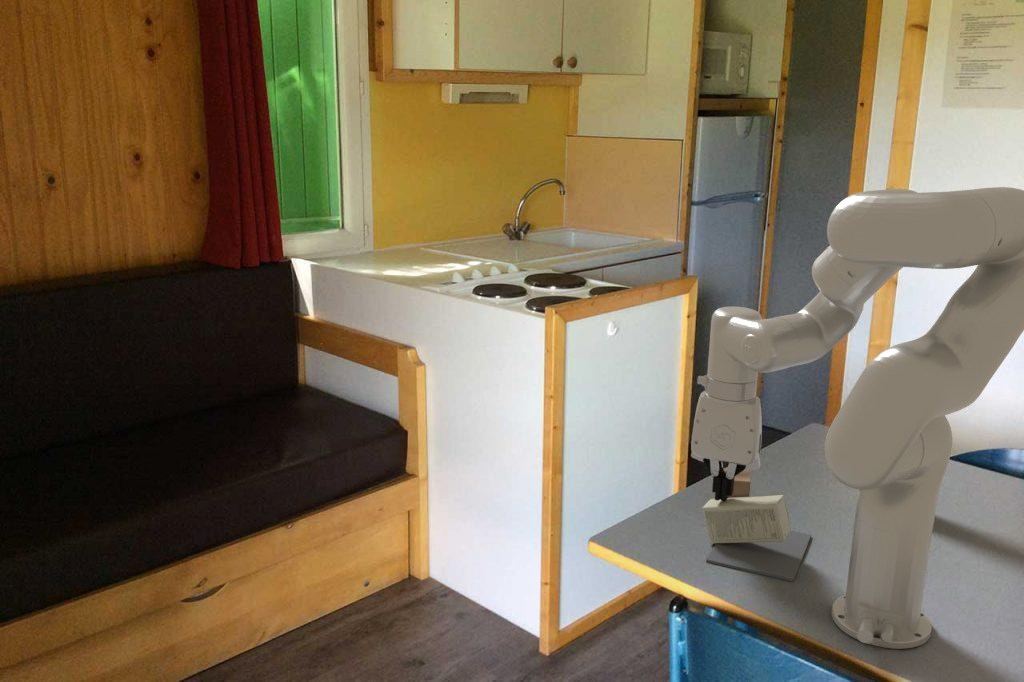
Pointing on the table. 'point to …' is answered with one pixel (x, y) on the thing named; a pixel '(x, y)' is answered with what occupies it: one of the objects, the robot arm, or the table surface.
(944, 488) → the table surface
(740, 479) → the walnut block
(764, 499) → the skincare box
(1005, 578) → the table surface
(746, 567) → the mat
